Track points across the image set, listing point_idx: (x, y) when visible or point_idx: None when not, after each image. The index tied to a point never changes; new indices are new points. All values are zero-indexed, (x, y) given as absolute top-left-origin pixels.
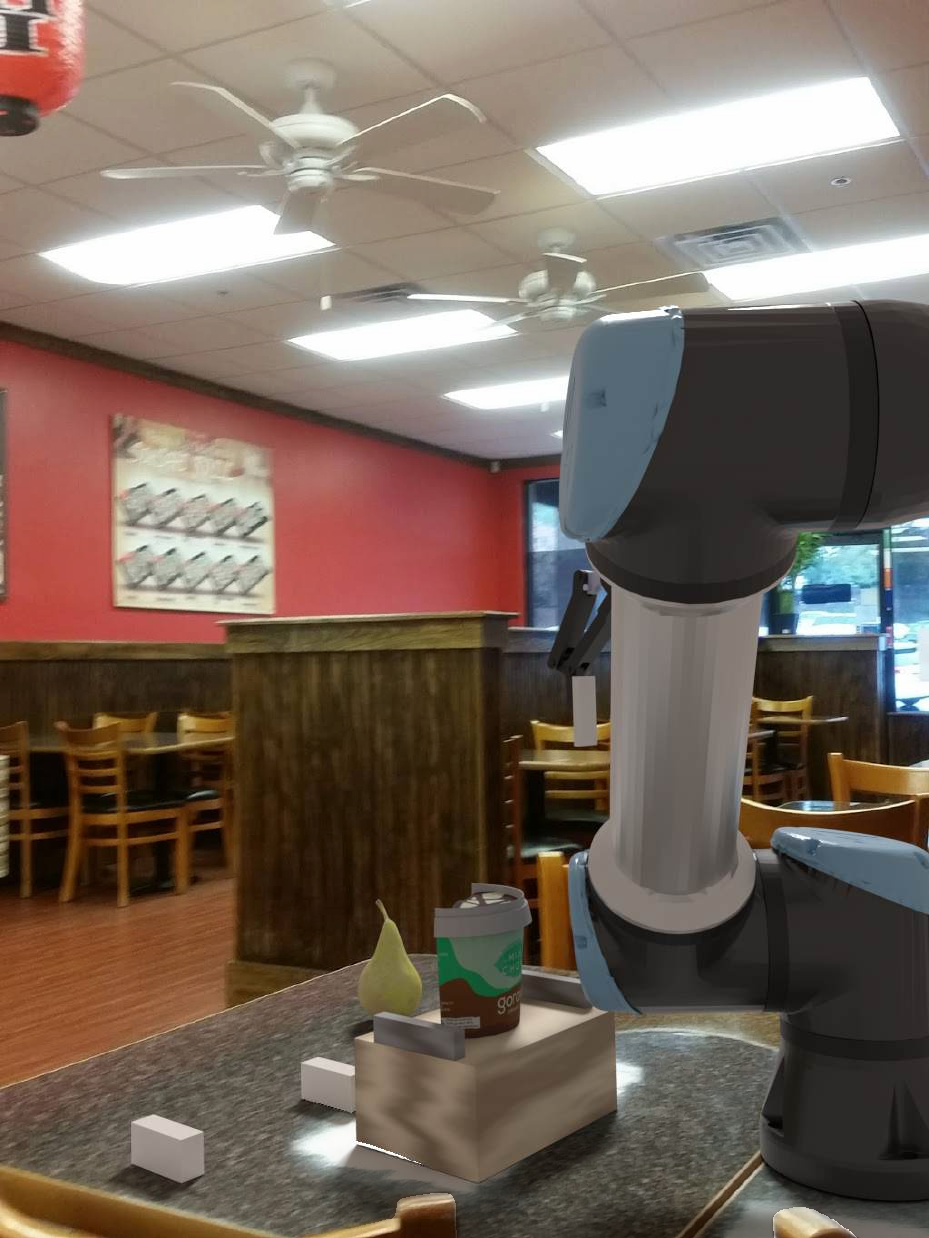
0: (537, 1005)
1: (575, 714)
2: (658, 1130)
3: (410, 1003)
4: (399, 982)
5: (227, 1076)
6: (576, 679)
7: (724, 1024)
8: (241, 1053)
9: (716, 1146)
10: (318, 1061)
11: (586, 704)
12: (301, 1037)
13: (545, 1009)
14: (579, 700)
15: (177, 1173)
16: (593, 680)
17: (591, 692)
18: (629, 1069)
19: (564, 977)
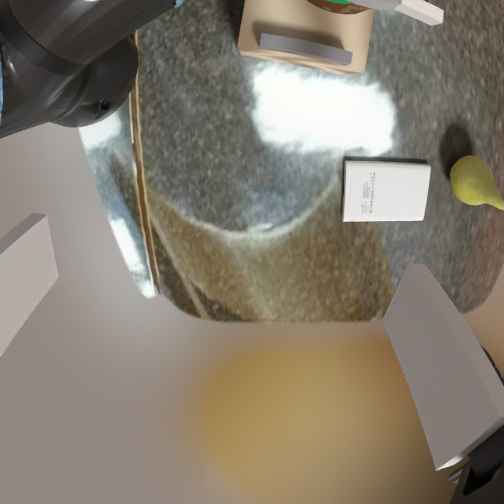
0: (305, 31)
1: (457, 319)
2: (201, 37)
3: (453, 169)
4: (466, 167)
5: (484, 44)
6: (502, 406)
7: (246, 257)
8: (499, 86)
9: (160, 35)
10: (436, 14)
11: (439, 366)
12: (489, 124)
13: (292, 23)
14: (465, 349)
15: None
16: (438, 453)
17: (435, 415)
18: (268, 133)
19: (291, 47)
